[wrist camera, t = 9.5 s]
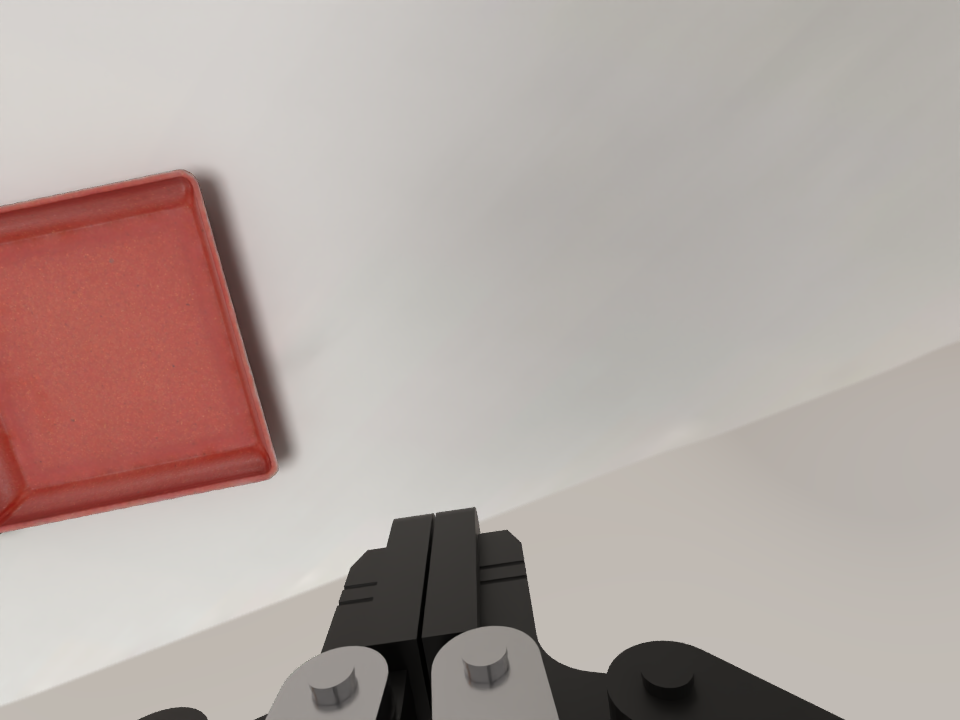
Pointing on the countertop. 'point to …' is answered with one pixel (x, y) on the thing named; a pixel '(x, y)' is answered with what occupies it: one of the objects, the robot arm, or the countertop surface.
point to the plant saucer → (120, 355)
